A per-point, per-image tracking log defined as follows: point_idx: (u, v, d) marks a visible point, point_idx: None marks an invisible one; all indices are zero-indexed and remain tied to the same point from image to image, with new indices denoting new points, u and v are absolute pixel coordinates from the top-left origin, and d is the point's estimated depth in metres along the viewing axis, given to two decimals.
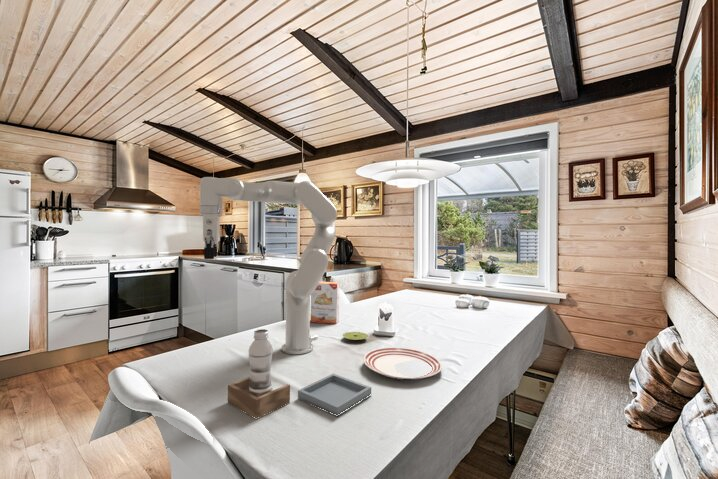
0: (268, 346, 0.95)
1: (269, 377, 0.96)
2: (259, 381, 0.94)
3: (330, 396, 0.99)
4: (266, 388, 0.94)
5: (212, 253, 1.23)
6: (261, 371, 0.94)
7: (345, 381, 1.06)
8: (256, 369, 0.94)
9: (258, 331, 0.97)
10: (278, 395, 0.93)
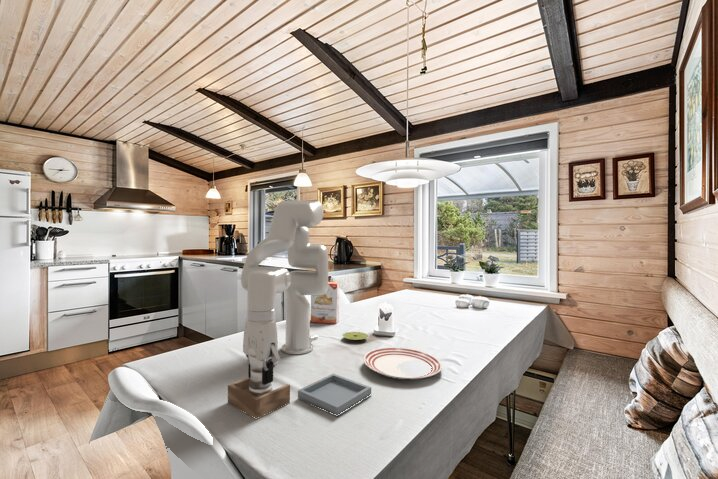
0: None
1: None
2: (259, 381, 0.94)
3: (330, 396, 0.99)
4: (266, 388, 0.94)
5: None
6: (261, 371, 0.94)
7: (345, 381, 1.06)
8: (256, 369, 0.94)
9: None
10: (278, 395, 0.93)
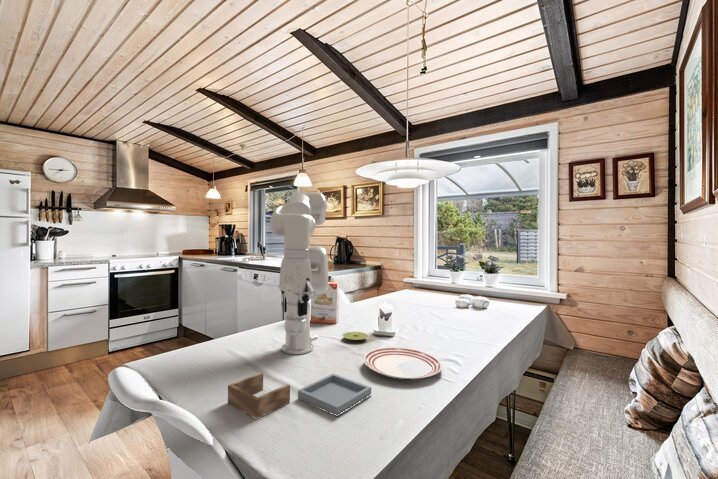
0: None
1: None
2: (295, 313, 1.03)
3: (330, 396, 0.99)
4: (301, 320, 1.04)
5: None
6: (297, 304, 1.03)
7: (345, 381, 1.06)
8: (293, 302, 1.03)
9: None
10: (278, 395, 0.93)
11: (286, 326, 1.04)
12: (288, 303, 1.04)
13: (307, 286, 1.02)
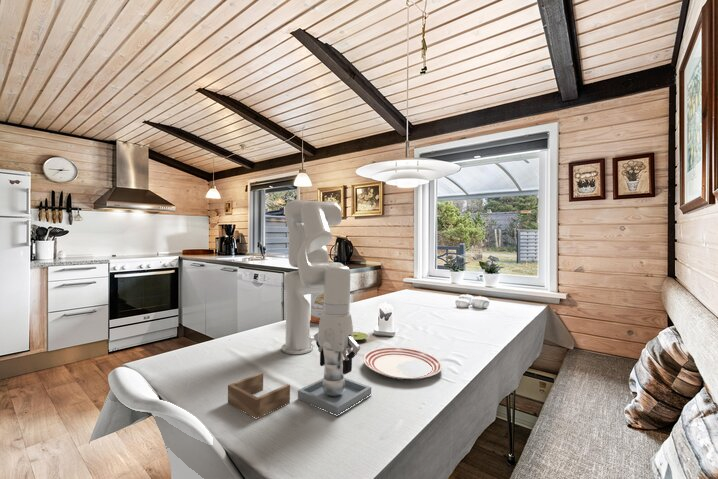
0: None
1: (342, 369, 1.00)
2: (334, 373, 0.98)
3: (330, 396, 0.99)
4: (340, 380, 0.98)
5: None
6: (336, 364, 0.98)
7: (345, 381, 1.06)
8: (332, 362, 0.98)
9: None
10: (278, 395, 0.93)
11: (325, 387, 0.98)
12: (327, 362, 0.98)
13: (350, 340, 0.96)
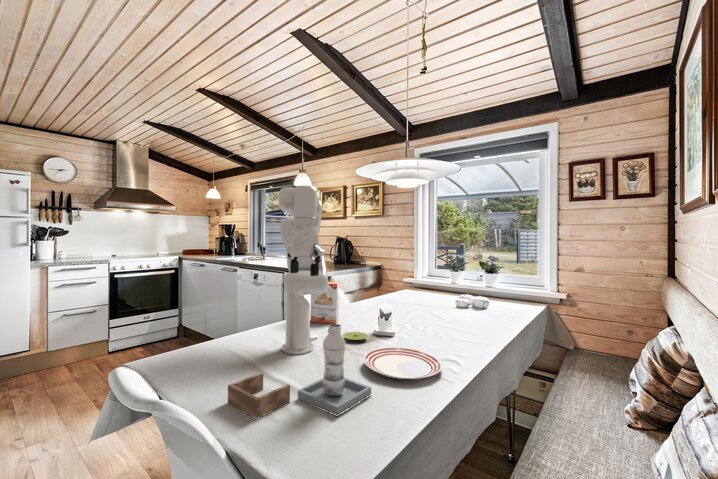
0: (342, 340, 0.99)
1: (342, 370, 1.00)
2: (335, 373, 0.98)
3: (330, 396, 0.99)
4: (340, 380, 0.98)
5: None
6: (336, 364, 0.98)
7: (345, 381, 1.06)
8: (332, 362, 0.98)
9: (331, 326, 1.01)
10: (278, 395, 0.93)
11: (325, 387, 0.98)
12: (327, 362, 0.98)
13: (315, 247, 1.12)
